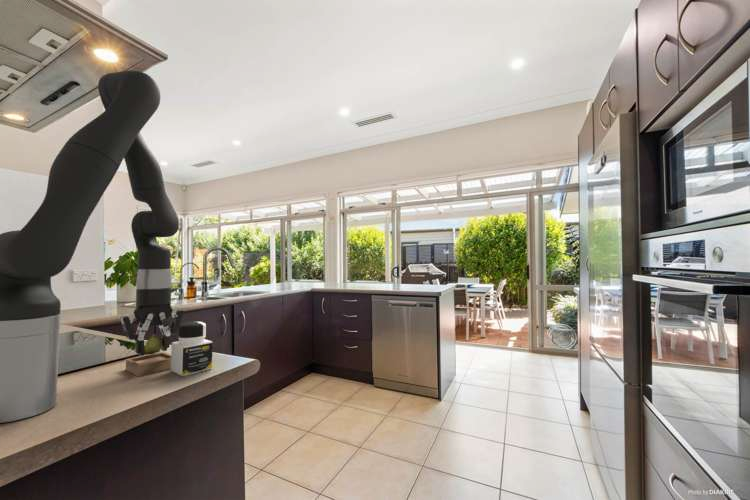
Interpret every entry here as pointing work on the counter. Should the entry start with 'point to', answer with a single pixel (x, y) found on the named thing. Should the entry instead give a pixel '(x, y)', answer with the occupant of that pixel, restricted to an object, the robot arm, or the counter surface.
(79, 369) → the counter surface
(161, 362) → the base
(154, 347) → the lime
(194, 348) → the medicine bottle
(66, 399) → the counter surface
